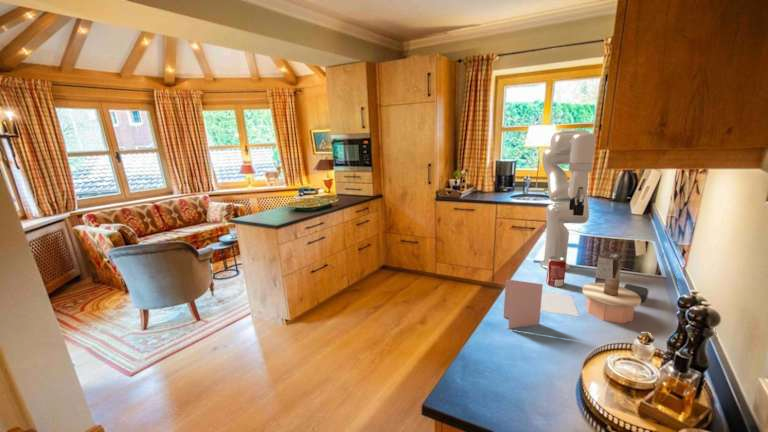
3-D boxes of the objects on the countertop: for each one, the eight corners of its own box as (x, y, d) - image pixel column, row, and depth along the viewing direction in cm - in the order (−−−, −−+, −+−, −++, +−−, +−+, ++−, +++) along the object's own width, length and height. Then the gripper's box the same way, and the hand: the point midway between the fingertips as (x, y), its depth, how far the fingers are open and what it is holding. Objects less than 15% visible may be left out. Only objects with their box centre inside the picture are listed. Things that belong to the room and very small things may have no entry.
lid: (578, 282, 126) (580, 268, 125) (631, 288, 120) (634, 273, 118) (587, 303, 111) (589, 287, 109) (648, 311, 104) (651, 294, 103)
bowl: (583, 302, 125) (585, 285, 123) (624, 307, 120) (626, 290, 119) (590, 319, 113) (592, 301, 112) (636, 326, 108) (639, 307, 107)
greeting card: (539, 323, 112) (542, 283, 108) (539, 335, 105) (543, 292, 102) (503, 317, 116) (505, 278, 113) (501, 328, 110) (504, 287, 106)
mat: (527, 291, 135) (527, 290, 135) (571, 297, 129) (571, 295, 129) (528, 310, 121) (529, 309, 121) (578, 317, 115) (578, 316, 115)
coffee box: (612, 299, 127) (617, 260, 123) (593, 294, 131) (597, 256, 127) (617, 291, 133) (622, 253, 129) (599, 286, 137) (603, 250, 134)
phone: (648, 288, 134) (644, 301, 123) (647, 290, 134) (644, 303, 123) (625, 283, 139) (620, 296, 128) (625, 285, 139) (620, 298, 128)
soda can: (566, 288, 136) (568, 261, 134) (548, 287, 138) (550, 261, 135) (560, 282, 143) (563, 256, 140) (544, 281, 144) (546, 255, 141)
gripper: (565, 165, 131) (561, 207, 135) (572, 169, 115) (567, 217, 119) (587, 165, 128) (582, 208, 132) (597, 169, 113) (591, 218, 117)
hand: (575, 212), depth 126 cm, fingers open, 9 cm apart
